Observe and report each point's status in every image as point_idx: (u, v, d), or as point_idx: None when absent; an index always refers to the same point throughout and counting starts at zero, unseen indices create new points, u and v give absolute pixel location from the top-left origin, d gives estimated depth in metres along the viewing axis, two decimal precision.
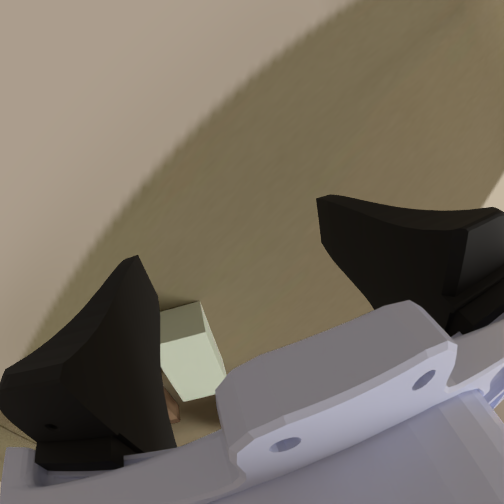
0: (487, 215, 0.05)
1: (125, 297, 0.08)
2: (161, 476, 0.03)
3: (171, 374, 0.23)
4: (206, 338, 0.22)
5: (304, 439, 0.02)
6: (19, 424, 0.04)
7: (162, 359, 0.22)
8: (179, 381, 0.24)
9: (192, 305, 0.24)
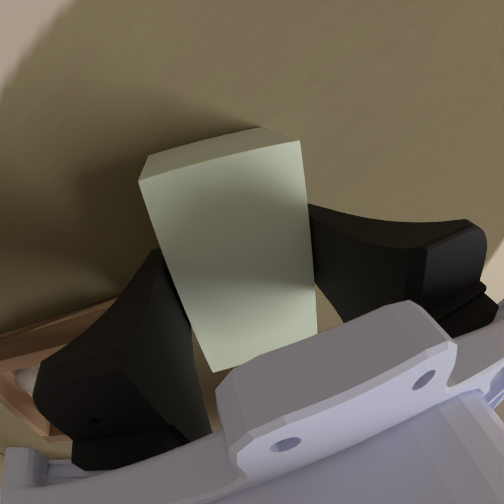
0: (454, 230, 0.05)
1: (162, 285, 0.08)
2: (161, 476, 0.03)
3: (191, 288, 0.09)
4: (298, 163, 0.08)
5: (304, 439, 0.02)
6: (56, 421, 0.04)
7: (171, 231, 0.08)
8: (210, 313, 0.10)
9: (246, 131, 0.11)
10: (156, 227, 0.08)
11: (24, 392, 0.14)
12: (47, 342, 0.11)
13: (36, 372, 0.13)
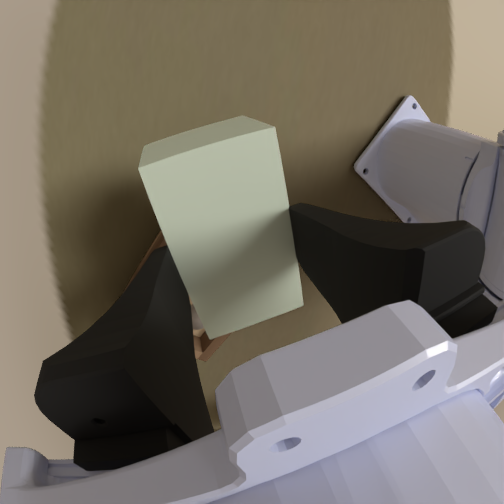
0: (452, 231, 0.05)
1: (164, 284, 0.08)
2: (161, 476, 0.03)
3: (187, 259, 0.11)
4: (275, 146, 0.10)
5: (304, 439, 0.02)
6: (58, 421, 0.04)
7: (168, 210, 0.10)
8: (204, 282, 0.11)
9: (230, 120, 0.12)
10: (155, 207, 0.09)
11: None
12: (157, 246, 0.18)
13: None
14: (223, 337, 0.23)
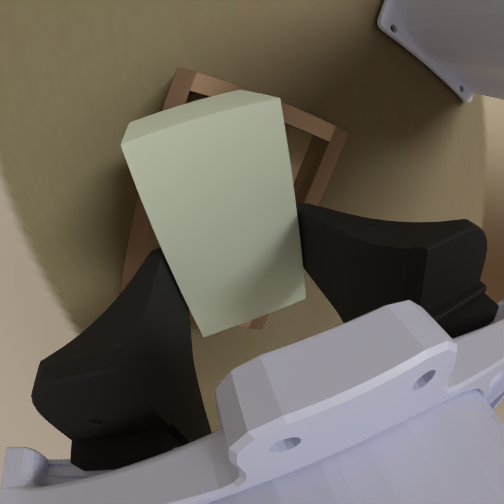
0: (454, 230, 0.05)
1: (161, 285, 0.08)
2: (161, 476, 0.03)
3: (177, 250, 0.09)
4: (279, 120, 0.08)
5: (304, 439, 0.02)
6: (55, 421, 0.04)
7: (156, 193, 0.08)
8: (198, 275, 0.10)
9: (226, 94, 0.10)
10: (140, 190, 0.08)
11: None
12: None
13: None
14: None
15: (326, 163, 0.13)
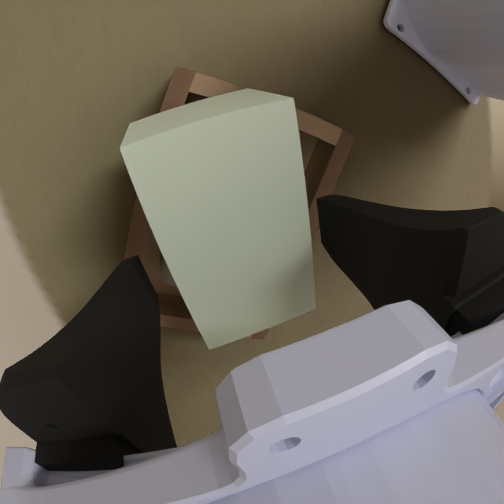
0: (487, 215, 0.05)
1: (125, 297, 0.08)
2: (161, 476, 0.03)
3: (182, 261, 0.09)
4: (293, 122, 0.07)
5: (304, 439, 0.02)
6: (19, 424, 0.04)
7: (158, 201, 0.08)
8: (204, 287, 0.10)
9: (233, 93, 0.10)
10: (141, 197, 0.07)
11: None
12: None
13: None
14: None
15: (332, 168, 0.13)
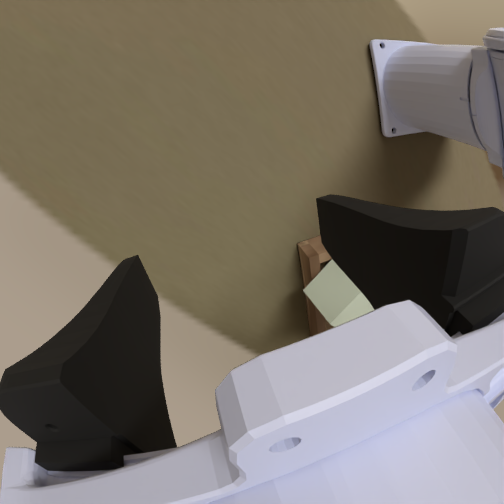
0: (487, 215, 0.05)
1: (125, 297, 0.08)
2: (161, 476, 0.03)
3: None
4: None
5: (304, 439, 0.02)
6: (19, 424, 0.04)
7: None
8: None
9: None
10: None
11: None
12: None
13: None
14: None
15: None
